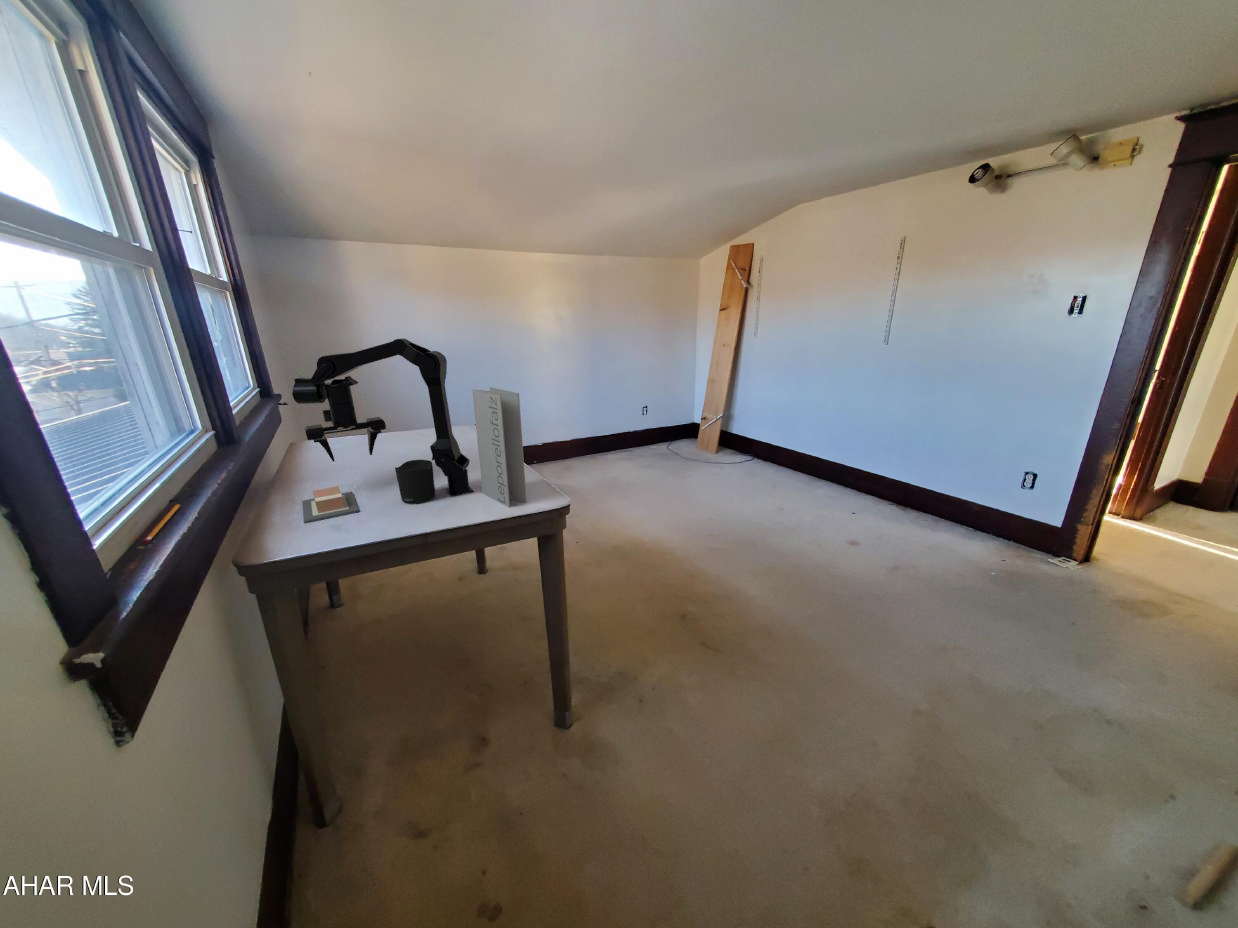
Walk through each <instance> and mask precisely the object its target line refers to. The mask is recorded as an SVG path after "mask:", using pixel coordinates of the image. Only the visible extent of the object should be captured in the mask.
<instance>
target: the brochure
mask: <svg viewBox="0 0 1238 928" xmlns="http://www.w3.org/2000/svg"><path fill="white" fill-rule="evenodd" d="M471 390H472V401H473V402H472V403H473V410H474V420H475V430H476V431H475V432H476V439H477V449H478V450H477V451H478V459H479V460H478V462H479V469H480V479H481V488H482V491H481V492H482V494H483V495H485V496H487V497H489V498H490V499H492V500H494V501H496V502H498V503H500V504H501V505H504V506H505V507H507V508H510V507H511V504H510V500H513V501H517V502H518V501H519V502H522V503H527V491H526V490H527V489H526V487H527V486H526V476H525V473H526V472H525V460H524V447H523V432H522V430H523V429H522V419H521V416H522V415H521V404H520V403H521V401H520V393H519V392H514V391H510V390H504V389H501V388H495V387H491V386H490V387H489V390H487V389H486V390H484V389H471Z"/></svg>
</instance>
